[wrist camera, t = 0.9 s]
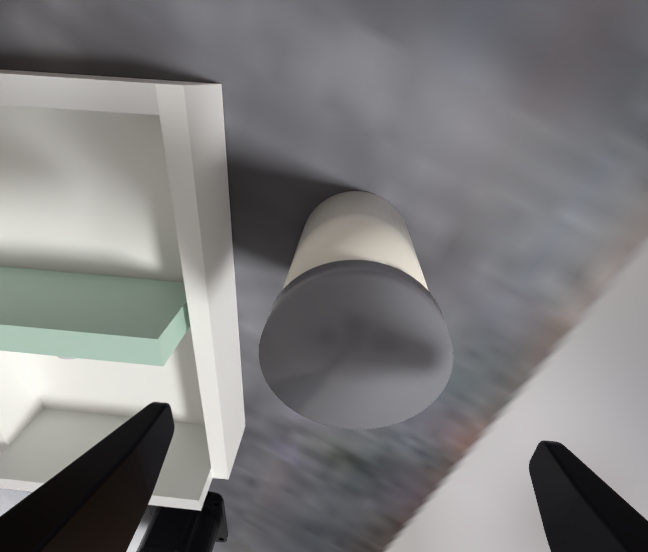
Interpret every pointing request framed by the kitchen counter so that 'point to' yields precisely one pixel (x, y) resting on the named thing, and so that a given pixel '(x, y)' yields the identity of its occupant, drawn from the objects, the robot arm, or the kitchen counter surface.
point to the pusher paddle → (91, 316)
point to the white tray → (121, 267)
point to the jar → (356, 321)
